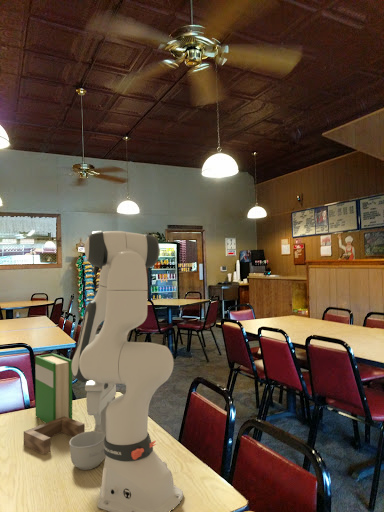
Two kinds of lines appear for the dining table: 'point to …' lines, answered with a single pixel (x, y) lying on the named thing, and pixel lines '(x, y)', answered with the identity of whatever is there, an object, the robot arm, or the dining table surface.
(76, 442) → the teacup
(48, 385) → the hardback book
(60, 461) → the dining table surface
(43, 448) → the walnut holder
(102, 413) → the salt shaker
